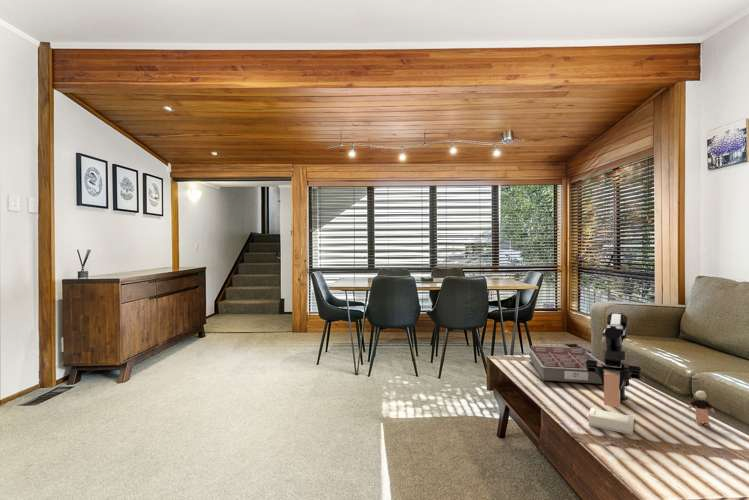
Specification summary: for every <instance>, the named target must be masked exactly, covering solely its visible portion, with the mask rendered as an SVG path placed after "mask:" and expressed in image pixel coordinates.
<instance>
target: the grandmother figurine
mask: <svg viewBox="0 0 749 500" xmlns="http://www.w3.org/2000/svg"><path fill="white" fill-rule="evenodd" d="M694 396H695V397H696V398H697V399H695V400H692V401H691V402H690V403H689V405H688V406H687V407H688V409H692V408H693V407H695V424H696V425H698V426H705V427H710V426H711V423H710V417H709V411H710V413H712V414H715V412H716V411H715V410H714V408H713V406H712V405H711V404H710V403H709V401H707V400H706V399H707V393H706V392H705V391H704V390H697V391H696V392H695V393H694ZM708 409H709V410H708Z"/></svg>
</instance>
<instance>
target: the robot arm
mask: <svg viewBox="0 0 749 500" xmlns="http://www.w3.org/2000/svg"><path fill="white" fill-rule="evenodd" d="M606 324H607V325H606V327H605V328H604V329H603V333H602V335H603V338H604V339H605V351H604V356H603V363H602V362H601V363H598V362H597V360H598V359H597V360H591V359H588V360H586V368H587V371H588V372H594V373H596V374H597V375H599V377H600V379H601V381H602V387H603V388H604V372H603V370H607V371H614V372H620V384H619V390H620V401H624V400H628V399H629V397H627V396H626V395H625V394H626V393H625V392H626V391H625V387H626V388H628V387H629V386H630V380H632V379H636V380H641V379H642V368H641V366H640V365H635V364H628V367H626V366H625V364H624V363H623V361H625V360H626V351H625V350H624V351H623V342H624V340H626V339H627V335H628V334H627V328H628V327H629V317H628V316H626V315H625V314H624V312H621V311H611V312H610V314H608V315H606Z"/></svg>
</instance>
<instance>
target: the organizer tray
mask: <svg viewBox="0 0 749 500" xmlns="http://www.w3.org/2000/svg"><path fill="white" fill-rule="evenodd" d="M528 350H529V360H530V362H531V364H532V365H533V367H534V368H535V370H536V371H537V373H538V374H539V376H540V377H541V379H542V381H552V382H554V381H555V382H568V383H586V384H600V385H601V384H602V381H601V379H600V377H599V375H597V374H596V373H594V372H588V371H587V368H586V360H588V359H591V360H597V362H598V363H602V361H600V360H599V359H597V358H596V357H594V356H593V354H591V353H589V352H588V351H587V350H586V348H585V347H564V346H547V345H546V346H545V345H530V347H529V348H528ZM603 372H604V373H605V370H603ZM602 385H603V384H602Z"/></svg>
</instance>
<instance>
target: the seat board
mask: <svg viewBox="0 0 749 500" xmlns="http://www.w3.org/2000/svg"><path fill="white" fill-rule="evenodd" d="M634 422H635V417H634V415H633V414H628V415H627V414H622V413H616V412H611V411H606V410H601V409H596V407H590V409H589V412H588V426H590V427H594V428H600V429H604V430H608V431H612V432H613V431H614V432H616V433H617V432H618V433H623V434H626V435H631V436H633V434H634Z"/></svg>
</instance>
